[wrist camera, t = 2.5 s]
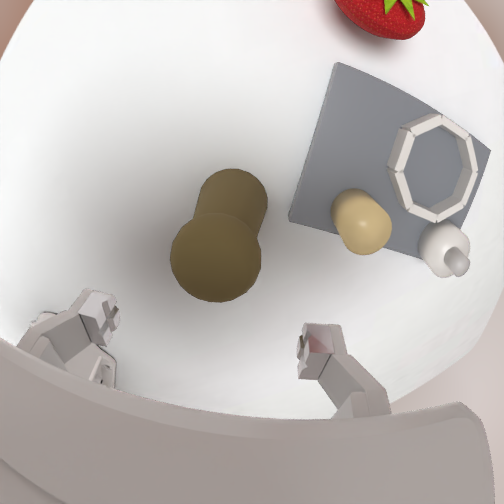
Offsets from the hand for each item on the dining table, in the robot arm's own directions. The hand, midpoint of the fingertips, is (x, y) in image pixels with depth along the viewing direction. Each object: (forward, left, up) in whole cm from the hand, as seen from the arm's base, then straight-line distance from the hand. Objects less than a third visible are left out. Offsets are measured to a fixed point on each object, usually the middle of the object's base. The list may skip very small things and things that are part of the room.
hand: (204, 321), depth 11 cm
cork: (0, 0, -15) cm, 15 cm away
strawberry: (+19, -5, -15) cm, 25 cm away
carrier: (+7, -14, -15) cm, 21 cm away
